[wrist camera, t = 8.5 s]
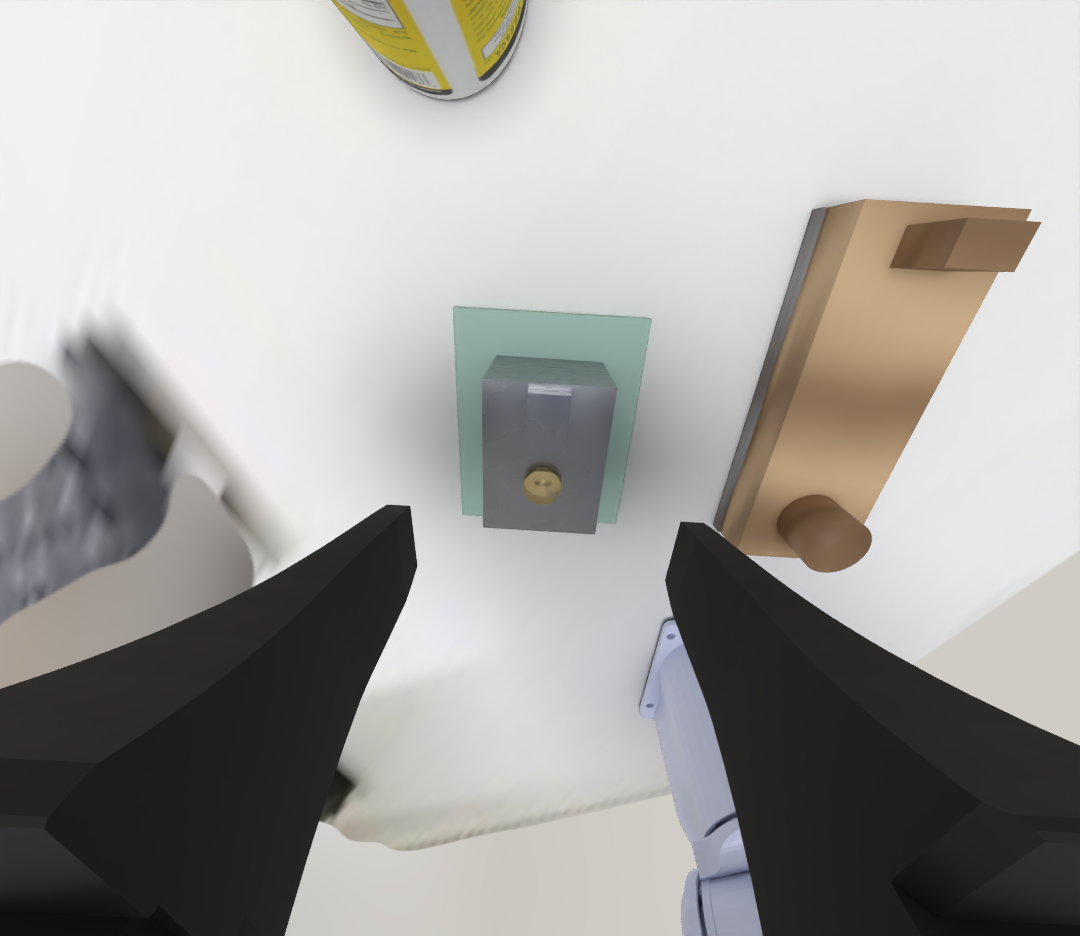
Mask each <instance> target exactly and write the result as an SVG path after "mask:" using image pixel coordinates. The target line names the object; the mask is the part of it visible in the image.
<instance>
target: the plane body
mask: <svg viewBox="0 0 1080 936" xmlns="http://www.w3.org/2000/svg"><path fill="white" fill-rule="evenodd" d="M1031 210H1032V209H1016V208H1000V207H983V206H967V205H950V204H934V203H918V202H901V201H885V200H868V199H864V200H860V201H855V202H851V203H846V204H842V205H837V206H833V207H828V208H826V207H823V208H819V209H814V210H813V211H812V215H811V218H810V221H809V224H808V227H807V230H806V234H805V237H804V240H803V243H802V246H801V249H800V253H799V256H798V259H797V262H796V265H795V268H794V272H793V275H792V278H791V281H790V284H789V287H788V290H787V294H786V297H785V300H784V303H783V306H782V309H781V313H780V316H779V319H778V322H777V325H776V328H775V332H774V335H773V338H772V341H771V344H770V347H769V350H768V354H767V357H766V360H765V363H764V366H763V369H762V373H761V376H760V379H759V382H758V385H757V388H756V392H755V395H754V398H753V401H752V404H751V407H750V411H749V414H748V417H747V420H746V423H745V426H744V429H743V433H742V436H741V439H740V442H739V445H738V448H737V452H736V455H735V458H734V461H733V464H732V467H731V471H730V474H729V477H728V480H727V483H726V486H725V489H724V493H723V496H722V499H721V502H720V505H719V508H718V512H717V515H716V518H715V521H714V524H713V525H714V526H715V528H716V529H717V531H720V532H721V533H722V534H723V536H724V537H725V539H726V540H727V541H729V542H730V543H731V544H732V545H734V546H735V547H736V548H737V549H739V550H740V551H741V552H743V553H744V554H745V555H755V556H773V557H790V558H801V559H802V561H803V562H804V563H805V564H806V565H807V566H808V567H809V568H810V569H812V570H815V571H818V572H836V571H840V570H843V569H846V568H848V567H850V566H852V565H854V564H855V563H857V562H858V561H859V560H860V559H861V558H862V557H863V556H864V555H865V554H866V553H867V551H868V550H869V548H870V545H871V541H872V536H871V533H870V531H869V530H868V528H867V527H866V526H864V523H865V521H866V519H867V517H868V515H869V513H870V511H871V510H872V508H873V506H874V504H875V502H876V500H877V498H878V496H879V495H880V493H881V491H882V489H883V487H884V485H885V483H886V482H887V480H888V478H889V476H890V474H891V472H892V470H893V468H894V467H895V465H896V463H897V461H898V459H899V457H900V455H901V453H902V452H903V450H904V448H905V446H906V444H907V442H908V440H909V439H910V437H911V435H912V433H913V431H914V429H915V427H916V425H917V424H918V422H919V420H920V418H921V416H922V414H923V412H924V410H925V409H926V407H927V405H928V403H929V401H930V399H931V397H932V395H933V394H934V392H935V390H936V388H937V386H938V384H939V382H940V381H941V379H942V377H943V375H944V373H945V371H946V369H947V367H948V366H949V364H950V362H951V360H952V358H953V356H954V354H955V352H956V351H957V349H958V347H959V345H960V343H961V341H962V339H963V337H964V336H965V334H966V332H967V330H968V328H969V326H970V324H971V323H972V321H973V319H974V317H975V315H976V313H977V311H978V309H979V308H980V306H981V304H982V302H983V300H984V298H985V296H986V294H987V293H988V291H989V289H990V287H991V285H992V283H993V281H994V279H995V278H996V276H997V274H998V272H1014V271H1015V269H1016V267H1017V266H1018V264H1019V262H1020V260H1021V258H1022V257H1023V255H1024V253H1025V251H1026V249H1027V248H1028V246H1029V244H1030V242H1031V240H1032V238H1033V237H1034V235H1035V233H1036V231H1037V229H1038V228H1039V226H1040V224H1041V222H1031V221H1026V220H1027V218H1028V216H1029V214H1030V212H1031Z"/></svg>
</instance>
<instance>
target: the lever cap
mask: <svg viewBox="0 0 1080 936" xmlns="http://www.w3.org/2000/svg"><path fill="white" fill-rule="evenodd" d="M617 389H618V388H617V386H616V384H615V382H614V381H613V379H612V377H611V376H610V374H609V372H608V370H607V369H606V367H605V365H604V363H603V362H594V361H578V360H563V359H548V358H533V357H518V356H502V355H496V357H495V358H494V360H493V362H492V363H491V365H490V367H489V368H488V370H487V371H486V373H485V375H484V376H483V378H482V451H483V527H485V528H501V529H518V530H534V531H550V532H566V533H582V534H595V531H596V524H597V518H598V511H599V505H600V498H601V492H602V485H603V479H604V473H605V466H606V460H607V453H608V447H609V440H610V434H611V428H612V421H613V415H614V408H615V402H616V395H617Z"/></svg>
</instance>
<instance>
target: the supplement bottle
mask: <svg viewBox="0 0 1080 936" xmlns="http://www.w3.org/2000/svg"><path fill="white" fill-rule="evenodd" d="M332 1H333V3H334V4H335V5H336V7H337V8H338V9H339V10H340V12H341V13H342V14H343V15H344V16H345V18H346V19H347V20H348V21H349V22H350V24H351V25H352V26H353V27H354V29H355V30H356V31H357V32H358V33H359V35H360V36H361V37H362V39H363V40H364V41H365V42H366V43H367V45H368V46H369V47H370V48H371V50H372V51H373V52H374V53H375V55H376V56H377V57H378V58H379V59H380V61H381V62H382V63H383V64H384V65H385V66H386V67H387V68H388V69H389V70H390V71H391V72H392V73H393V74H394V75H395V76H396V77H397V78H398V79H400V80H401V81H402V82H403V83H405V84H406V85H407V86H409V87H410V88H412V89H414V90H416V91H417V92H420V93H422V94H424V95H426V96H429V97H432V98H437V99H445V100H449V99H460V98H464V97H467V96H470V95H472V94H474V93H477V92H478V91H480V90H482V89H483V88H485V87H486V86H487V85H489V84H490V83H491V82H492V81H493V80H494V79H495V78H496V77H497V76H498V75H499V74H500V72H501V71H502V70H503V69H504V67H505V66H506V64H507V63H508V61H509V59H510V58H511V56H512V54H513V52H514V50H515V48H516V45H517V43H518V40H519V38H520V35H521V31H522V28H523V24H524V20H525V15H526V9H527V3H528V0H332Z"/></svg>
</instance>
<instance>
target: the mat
mask: <svg viewBox="0 0 1080 936" xmlns="http://www.w3.org/2000/svg"><path fill="white" fill-rule="evenodd" d="M651 320H652V319H650V318H638V317H621V316H604V315H587V314H571V313H554V312H537V311H520V310H503V309H486V308H469V307H453V321H454V342H455V364H456V385H457V406H458V427H459V449H460V470H461V491H462V512H463V515H475V516H483V451H482V378H483V376H484V375H485V373H486V371H487V370H488V368H489V367H490V365H491V363H492V362H493V360H494V358H495V357H496V355H502V356H518V357H533V358H548V359H563V360H578V361H594V362H603V363H604V365H605V367H606V369H607V370H608V372H609V374H610V376H611V377H612V379H613V381H614V382H615V384H616V386H617V388H618V389H617V395H616V402H615V408H614V415H613V421H612V428H611V434H610V440H609V447H608V453H607V460H606V466H605V473H604V479H603V485H602V492H601V498H600V505H599V511H598V518H597V522H599V523H616V521H617V515H618V509H619V503H620V498H621V492H622V486H623V480H624V475H625V469H626V463H627V458H628V452H629V446H630V440H631V435H632V429H633V423H634V418H635V412H636V406H637V400H638V395H639V389H640V383H641V378H642V372H643V366H644V360H645V355H646V349H647V343H648V337H649V332H650V326H651Z"/></svg>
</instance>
